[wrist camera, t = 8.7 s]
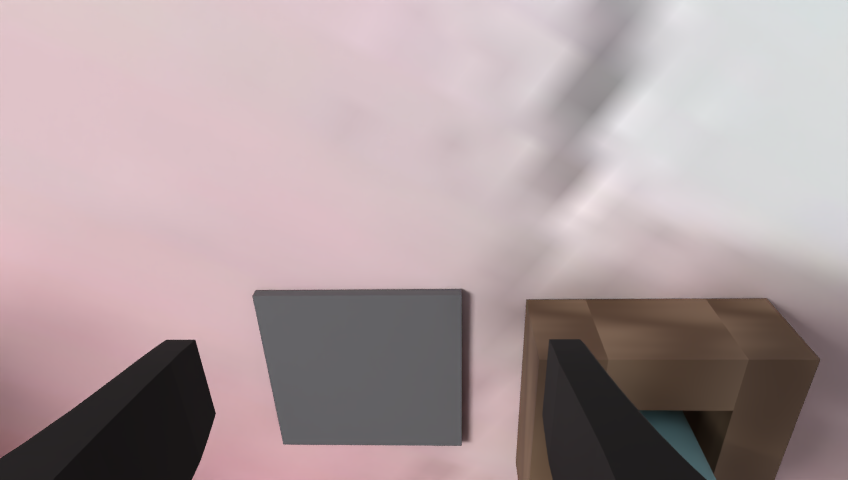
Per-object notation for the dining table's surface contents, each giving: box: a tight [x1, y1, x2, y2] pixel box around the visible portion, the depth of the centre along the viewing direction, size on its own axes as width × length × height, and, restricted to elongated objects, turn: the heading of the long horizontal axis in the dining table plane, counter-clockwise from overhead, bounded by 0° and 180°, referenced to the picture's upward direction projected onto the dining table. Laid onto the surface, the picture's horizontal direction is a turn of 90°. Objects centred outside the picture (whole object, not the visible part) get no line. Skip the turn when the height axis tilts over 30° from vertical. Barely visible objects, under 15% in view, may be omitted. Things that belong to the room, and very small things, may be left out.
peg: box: [639, 410, 716, 480], centre depth 20 cm, size 3×3×9 cm
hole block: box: [516, 298, 820, 480], centre depth 22 cm, size 9×9×4 cm
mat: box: [253, 289, 462, 446], centre depth 24 cm, size 8×8×1 cm
